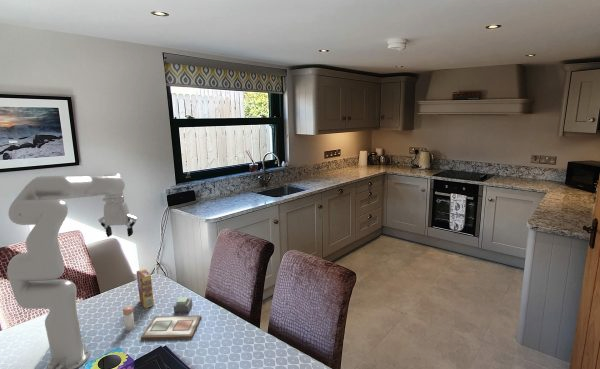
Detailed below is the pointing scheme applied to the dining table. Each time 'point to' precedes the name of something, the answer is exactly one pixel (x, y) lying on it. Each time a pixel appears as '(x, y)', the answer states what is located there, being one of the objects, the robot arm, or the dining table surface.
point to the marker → (128, 318)
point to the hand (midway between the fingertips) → (120, 235)
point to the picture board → (171, 327)
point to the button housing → (183, 307)
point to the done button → (182, 301)
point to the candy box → (145, 288)
